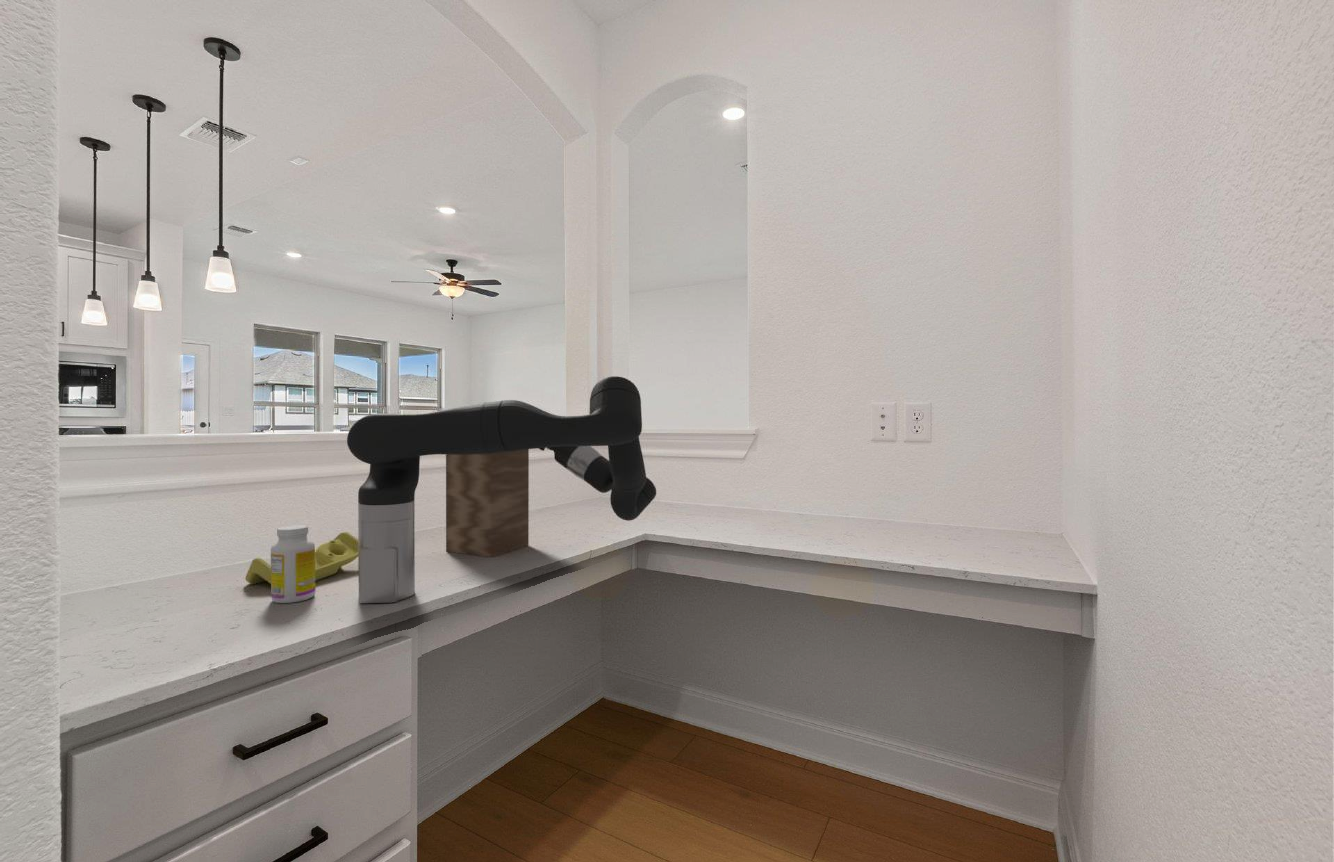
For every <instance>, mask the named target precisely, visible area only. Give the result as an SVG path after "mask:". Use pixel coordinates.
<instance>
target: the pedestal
mask: <svg viewBox="0 0 1334 862" xmlns="http://www.w3.org/2000/svg"><path fill="white" fill-rule="evenodd" d="M529 451H530V449H525V450H518V451H512V452H502V453H493V454H472V455H446V454H445V548H446V549H445V551H446V553H447V552H448V553H454V554H463V555H470V556H479V557H486V556H487V557H488V558H494V557H497V556H500V555H503V554H506V553H509V552H508V551H510V552H513V551H515V549H516V550H518V549H522V548H525V547H528V546H527V545H529V534H530V533H529V529H530V528H529V521H530V520H529V517H530V516H529V511H530V510H529V508H530V506H529V505H530V504H529V502H530V501H529V499H530V498H529V497H530V496H529V495H530V491H529V488H530V486H529V481H530V480H529V479H530V478H529V477H530V476H529V472H530V471H529V469H530V468H529V467H530V464H529V460H530V456H529ZM521 547H522V548H521ZM493 556H494V557H493ZM487 557H486V558H487Z"/></svg>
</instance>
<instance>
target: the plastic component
mask: <svg viewBox="0 0 1334 862" xmlns="http://www.w3.org/2000/svg"><path fill="white" fill-rule="evenodd" d="M357 558H358V538H356V537H355V536H354V535H352V534H350V533H349V532H348V531H344V532H341V533H339V534H338V535H337V536H336V537H334V538H333V540H329V541H327V542H325V543H322V544H320V545H319V546H318V547H317V548H316V549H315V582H316V581H319V580H321V579H325V578H326V577H327V578H328V577H330V576H332V575H334V574H337V572H338V570H342V567H343V566H346V565H348V564H350V563H352V562H354V561H355V560H356V559H357ZM247 570H248V571H247V573H246V574H245V581H246V582H247V583H248V584H251V585H256V583H257V584H260V583H263V582H267V583H269V584H270V585H271V564H269V563H268V562H266V561H265V560H264V559H263V558H261V557H256V558H254V559H253V560H252V561H251V564H250V566H249V567H248V569H247Z"/></svg>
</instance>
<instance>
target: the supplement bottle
mask: <svg viewBox="0 0 1334 862" xmlns="http://www.w3.org/2000/svg"><path fill="white" fill-rule="evenodd" d="M308 533H309V526H308V525H304V524H303V525H302V524H297V525H295V524H294V525H286V526H281V527H277V528H276V536H277V537H278V541H277V542H275V543H274V544H272V545H271V547H270V566H271V584H270V585H271V586H270V590H271V591H270V595H271V600H272V601H273V602H274V603H276V604H293V603H298V602H299V603H300V602H302V601H303V602H304V601H307V600H309V599H311V598H313V597H314V596H315V595H316V581H315V552H316V546H315V542H314V541H313V540H311V539H309V538H308Z"/></svg>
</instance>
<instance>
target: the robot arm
mask: <svg viewBox="0 0 1334 862" xmlns="http://www.w3.org/2000/svg"><path fill="white" fill-rule="evenodd" d="M642 431H643V417H642V399H641V394H640V391H639V388H638V387H637V386H636V384H635V383H634V382H632V381H631V380H630V379H628V378H625V377H623V376H616V375H615V376H607V377H605V378H602V379H600V380H598V382H596V383H595V385H594V386H593V388H592V390H591V393H590V397H589V414H584V415H573V416H572V415H569V416H567V415H557V414H553V413H550V412H547V411H546V410H544V409H542V408H538V407H536V406H534V405H532V404H529V403H527V402H524V401H521V400H517V399H506V400H505V399H504V400H497V401H496V400H495V401H486V402H485V401H484V402H482V403H481V402H480V403H475V404H474V403H473V404H467V405H462V406H455V407H451V408H446V409H442V410H437V411H432V412H426V413H413V414H411V413H410V414H409V413H408V414H398V413H380V412H379V413H377V412H376V413H371V414H368V415H365V416H363V417H361V418H359V419H358V420H357V421H356V422H355V423H354V424H353V425H352V426H351V427H350V429H349V431H348V432H347V433H348V434H347V437H346V444H347V447H348V448H347V449H348V450H349V451H350V453H351V454H352V455H353V456H354V457H355V458H356V459H357V460H359V461H361V462H363V463H366V464H368V465H370V466H369V473H368V476H367V478H366V480H365V481H364V482H363V484H362V485H360V487H359V489H358V494H357V495H358V496H357V498H358V499H357V502H358V505H357V506H358V508H357V509H358V510H357V512H358V519H357V523H358V524H357V528H358V533H357V534H358V535H357V536H358V538H357V539H358V557H357V558H358V561H357V562H358V568H357V569H358V573H357V575H358V577H357V578H358V601H359V604H379V603H380V604H382V603H383V604H384V603H397V602H398V601H400V600H403V599H407V598H409V597H411V596H413V595H414V594H415V592H416V591H415V590H416V585H415V583H416V581H415V579H416V578H415V577H416V575H415V574H416V572H415V571H416V570H415V569H416V568H415V567H416V566H415V564H416V563H415V557H416V556H415V547H416V546H415V540H416V539H415V497H416V495H415V494H416V490H417V488H418V484H419V478H420V460H421V457H422V456H432V455H435V456H436V455H445V456H446V455H472V454H493V453H502V452H512V451H518V450H525V449H529V450H535V449H538V450H540V451H545V449H547V450H550V451H553V453H554V457H553V458H554V460H555V462H556V463H558V464H559V465H560V466H562V467H563V468H565V469H566V470H568V471H569V472H570V473H571V474H573V475H574V476H575V477H577V478H579V479H581V480H582V481H584V482H586V483H587V484H588V485H590V486H591V487H592V488H593V489H595V490H596V491H597V492H599V493H603V494H605V493H608V492H610V499H609V502H610V506H611V509H612V510H613V513H615V516H617V517H618V518H619V519H621V520H623V521H627V522H628V521H630V522H631V521H634V520H636V519H637V518H638V517H639V516H640V515H642V512H643V511H645V509H646V508H647V507H648V506H649V505H650V504H651V502H652V501H653V500H654V499H655V497H656V496H657V489H656V485H655V484H654V482H652V480H651V479H650V478H649V477H647V474H646V467H645V461H644V457H643V452H642V447H641V441H640V435H641V434H642ZM605 446H606V447H607V451H608V453H607V454H608V459H607V458H606V457H604V456H603V455H602V454H601V453H600V452H599V451H598V450H597V449H595V448H594V447H605Z"/></svg>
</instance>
